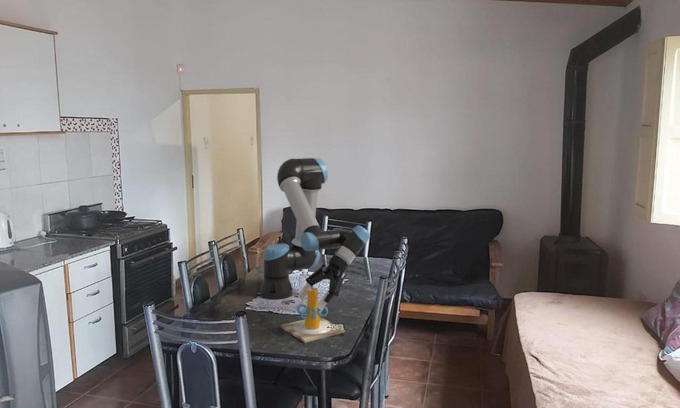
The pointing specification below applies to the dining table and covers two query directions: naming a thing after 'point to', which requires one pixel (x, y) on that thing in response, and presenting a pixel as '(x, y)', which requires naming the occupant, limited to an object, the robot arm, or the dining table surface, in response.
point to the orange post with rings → (311, 310)
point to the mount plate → (311, 330)
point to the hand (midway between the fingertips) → (309, 303)
